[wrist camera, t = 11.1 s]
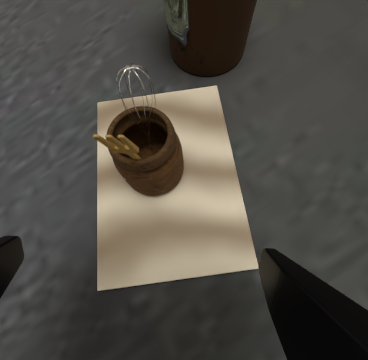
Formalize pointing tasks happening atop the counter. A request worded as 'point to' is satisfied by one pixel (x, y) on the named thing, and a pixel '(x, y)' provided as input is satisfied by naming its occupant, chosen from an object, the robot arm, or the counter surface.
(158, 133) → the utensil holder
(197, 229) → the birch board
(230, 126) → the counter surface
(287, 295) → the robot arm
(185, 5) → the olive oil
